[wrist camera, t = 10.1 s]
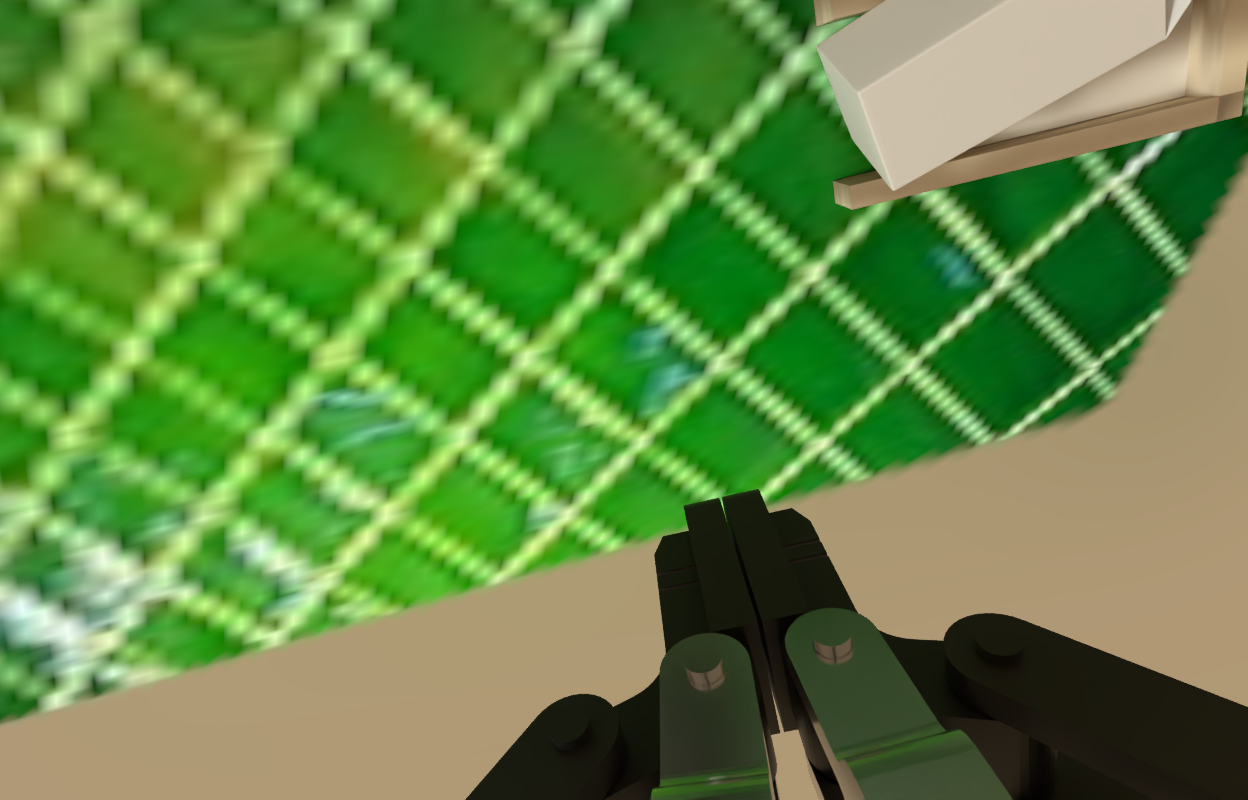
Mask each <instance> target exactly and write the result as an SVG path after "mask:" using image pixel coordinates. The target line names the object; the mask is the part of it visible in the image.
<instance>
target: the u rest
mask: <svg viewBox="0 0 1248 800" xmlns="http://www.w3.org/2000/svg"><path fill="white" fill-rule="evenodd" d="M884 1H885V0H814V7H815V17H816V26H821V25H825V24H828V23H832V22H836V21H840V20H844V19H848V18H852V17H855V16H859V15H863V14H866V13H867V12H869V11H870V10H872V9H873V8H875V7H876V6H878V5H879V4H881V3H882V2H884ZM1247 64H1248V0H1192V1H1191V2H1190V4H1189V5H1188V7H1187V8H1186V10H1185V11H1184V13H1183V14H1182V16H1181V17H1180V19H1179V20H1178V22H1177V23H1176V25H1175V26H1174V28H1173V29H1172V31H1171V33H1170V34H1169V36H1168V37H1167V38H1166V40H1163V41H1161V42H1159V43H1158V44H1156V45H1154V46H1152V47H1150V48H1149V49H1147V50H1145V51H1143V52H1142V53H1140V54H1138V55H1136V56H1134V57H1133V58H1131V59H1129V60H1127V61H1125V62H1124V63H1122V64H1120V65H1118V66H1117V67H1115V68H1113V69H1111V70H1109V71H1108V72H1106V73H1104V74H1102V75H1100V76H1099V77H1097V78H1095V79H1093V80H1092V81H1090V82H1088V83H1086V84H1084V85H1083V86H1081V87H1079V88H1077V89H1075V90H1074V91H1072V92H1070V93H1068V94H1067V95H1065V96H1063V97H1061V98H1059V99H1058V100H1056V101H1054V102H1052V103H1051V104H1049V105H1047V106H1045V107H1043V108H1042V109H1040V110H1038V111H1036V112H1034V113H1033V114H1031V115H1029V116H1027V117H1026V118H1024V119H1022V120H1020V121H1018V122H1017V123H1015V124H1013V125H1011V126H1009V127H1008V128H1006V129H1004V130H1002V131H1001V132H999V133H997V134H995V135H993V136H992V137H990V138H988V139H986V140H984V141H983V142H981V143H979V144H977V145H976V146H974V147H972V148H970V149H968V150H967V151H965V152H963V153H961V154H959V155H958V156H956V157H954V158H952V159H951V160H949V161H947V162H945V163H943V164H942V165H940V166H938V167H936V168H934V169H933V170H931V171H929V172H927V173H926V174H924V175H922V176H920V177H918V178H917V179H915V180H913V181H911V182H909V183H908V184H906V185H904V186H902V187H901V188H899V189H897V190H895V191H892V190H891V188H890V187H889V186H888V185H887V183H886V182H885V181H884V180H883V178H882V177H881V176H880V174H879V173H878V172H877V171H872V172H868V173H864V174H860V175H856V176H851V177H847V178H843V179H839V180H835V181H833V186H834V196H835V203H837V204H839V205H842V206H845V207H847V208H850V209H852V210H853V209H857V208H861V207H865V206H869V205H873V204H878V203H882V202H886V201H890V200H894V199H898V198H902V197H907V196H911V195H915V194H919V193H923V192H927V191H931V190H936V189H940V188H944V187H948V186H952V185H956V184H961V183H965V182H969V181H973V180H977V179H981V178H985V177H990V176H994V175H998V174H1002V173H1006V172H1010V171H1014V170H1019V169H1023V168H1027V167H1031V166H1035V165H1039V164H1043V163H1048V162H1052V161H1056V160H1060V159H1064V158H1068V157H1072V156H1077V155H1081V154H1085V153H1089V152H1093V151H1097V150H1102V149H1106V148H1110V147H1114V146H1118V145H1122V144H1126V143H1131V142H1135V141H1139V140H1143V139H1147V138H1151V137H1155V136H1160V135H1164V134H1168V133H1172V132H1176V131H1180V130H1184V129H1189V128H1193V127H1197V126H1201V125H1205V124H1209V123H1214V122H1218V121H1222V120H1226V119H1230V118H1234V117H1238V116H1241V113H1242V105H1243V97H1244V88H1245V80H1246V72H1247Z"/></svg>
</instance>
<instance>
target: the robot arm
mask: <svg viewBox="0 0 1248 800" xmlns="http://www.w3.org/2000/svg"><path fill="white" fill-rule="evenodd" d="M722 500H723V506H724V511H725V515H726V518H725V515H724V511H723V508H722V505H721V502H720V499H719V498H716V499H711V500H707V501H702V502H698V503H693V504H689V505H684V510H685V515H686V520H687V525H688V529H689V531H686V532H681V533H676V534H672V535H667V536H663V537H662V540H661V542H660V544H659V546H658V548H657V550H656V552H655V555H654V556H655V564H656V573H657V581H658V589H659V597H660V606H661V614H662V622H663V631H664V639H665V648H666V655H665V657H664V658H663V660H662V663H661V666H660V674H659V675H658V676H657V678H656V679H655V680H654V681H653V683H651V684H650V685H649V686H648V687H647V688H646V689H645V690H644V691H642V692H641V693H639V694H637V695H635V696H634V697H632V698H630V699H628V700H626V701H624V702H622V703H620V704H618V705H616V706H614V707H613V706H612V705H611V704H610V703H609V702H607V700H605V699H603V698H601V697H599V696H596V695H590V694H577V695H571V696H568V697H565V698H563V699H560V700H558V701H556V702H554V703H553V704H551V705H550V706H548V707H547V708H546V709H544V710H543V711H542V712H541V713H540V714H539V715H538V716H537V717H536V719H535V720H534V721H533V722H532V723H531V724H530V726H529V727H528V728H527V729H526V730H525V731H524V732H523V734H522V735H521V736H520V737H519V738H518V740H517V741H516V742H515V743H514V744H513V745H512V746H511V748H510V749H509V750H508V751H507V752H506V753H505V754H504V756H503V757H502V758H501V759H500V760H499V761H498V763H497V764H496V765H495V766H494V767H493V768H492V770H491V771H490V772H489V773H488V774H487V775H486V776H485V778H484V779H483V780H482V781H481V782H480V783H479V785H478V786H477V787H476V788H475V789H474V790H473V791H472V793H471V794H470V795H469V796H468V797H467V798H466V800H780V798H779V793H778V787H777V782H776V778H775V776H776V771H777V763H776V758H775V752H774V747H773V743H772V738H771V735H773V734H777V733H780V730H779V725H778V720H777V715H776V710H775V705H774V700H773V696H774V699H775V702H776V706H777V709H778V713H779V716H780V719H781V723H782V726H783V730H784V732H786V731H792V730H797V729H798V730H799V733H800V736H801V740H802V743H803V746H804V749H805V754H806V759H807V764H808V770H809V774H810V777H811V780H812V782H813V785H814V788H815V790H816V792H817V795H818V797H819V800H1248V707H1246V706H1244V705H1241V704H1238V703H1236V702H1233V701H1231V700H1228V699H1225V698H1223V697H1220V696H1218V695H1215V694H1213V693H1210V692H1207V691H1205V690H1202V689H1199V688H1197V687H1195V686H1192V685H1189V684H1187V683H1184V682H1181V681H1179V680H1176V679H1174V678H1171V677H1169V676H1166V675H1163V674H1161V673H1158V672H1156V671H1153V670H1151V669H1148V668H1145V667H1143V666H1140V665H1138V664H1135V663H1132V662H1130V661H1127V660H1125V659H1122V658H1120V657H1117V656H1114V655H1112V654H1109V653H1107V652H1104V651H1102V650H1099V649H1096V648H1093V647H1091V646H1089V645H1086V644H1083V643H1081V642H1078V641H1075V640H1073V639H1071V638H1068V637H1065V636H1063V635H1060V634H1058V633H1055V632H1052V631H1050V630H1047V629H1045V628H1042V627H1040V626H1037V625H1034V624H1032V623H1029V622H1027V621H1024V620H1021V619H1018V618H1015V617H1012V616H1008V615H1003V614H994V613H984V614H975V615H971V616H967V617H965V618H962V619H960V620H958V621H957V622H955V623H954V624H953V625H951V627H949V629H948V630H947V632H946V634H945V637H944V641H937V640H917V639H906V638H900V637H895V636H892V635H889V634H886V633H884V632H882V631H879V630H878V629H877V628H876V627H875V626H874V624H873V623H872V622H871V621H870V620H868V619H867V618H865V617H864V616H862V615H861V614H858V612H857V611H856V609H855V607H854V605H853V603H852V601H851V599H850V597H849V595H848V593H847V591H846V589H845V587H844V585H843V584H842V582H841V580H840V578H839V576H838V574H837V572H836V570H835V568H834V566H833V564H832V562H831V560H830V558H829V557H828V556H827V553H826V550H825V549H824V547H823V545H822V543H821V542H820V540H819V537H818V535H817V533H816V531H815V529H814V527H813V525H812V523H811V521H809V520H808V519H807V518H805V517H804V516H802V515H801V514H799V513H798V512H797V511H795V510H794V509H792V508H790V509H786V510H781V511H777V512H772V513H769V512H768V510H767V508H766V505H765V503H764V500H763V498H762V496H761V493H760V491H759V489H756V490H752V491H747V492H743V493H738V494H733V495H729V496H724V497H722ZM726 520H727V521H726ZM771 689H772V690H771ZM772 692H773V695H772Z"/></svg>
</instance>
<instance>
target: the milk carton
mask: <svg viewBox="0 0 1248 800" xmlns="http://www.w3.org/2000/svg"><path fill="white" fill-rule="evenodd" d="M1191 1H1192V0H885V1H884V2H882V3H881V4H879V5H878V6H876V7H875V8H873V9H872V10H870V11H869V12H867V13H866V14H864V15H862V16H861V17H859V18H858V19H856V20H855V21H853V22H852V23H850V24H849V25H847V26H846V27H844V28H843V29H841V30H840V31H838V32H837V33H835V34H834V35H832V36H830V37H829V38H827V39H826V40H824V41H823V42H821V43H820V44H818V45H817V46H816V47H817V50H818V53H819V55H820V58H821V61H822V64H823V66H824V69H825V72H826V74H827V77H828V79H829V82H830V85H831V87H832V90H833V92H834V95H835V98H836V100H837V103H838V105H839V108H840V110H841V113H842V115H843V118H844V120H845V123H846V125H847V127H848V130H849V132H850V135H851V137H852V139H853V141H854V142H855V144H856V145H857V146H858V148H859V149H860V150H861V151H862V153H863V154H864V155H865V156H866V158H867V159H868V160H869V162H870V163H871V164H872V165H873V167H874V168H875V169H876V171H877V172H878V173H879V174H880V176H881V177H882V178H883V180H884V181H885V182H886V183H887V185H888V186H889V187H890V188H891V190H892V191H895V190H897V189H899V188H901V187H902V186H904V185H906V184H908V183H909V182H911V181H913V180H915V179H917V178H918V177H920V176H922V175H924V174H926V173H927V172H929V171H931V170H933V169H934V168H936V167H938V166H940V165H942V164H943V163H945V162H947V161H949V160H951V159H952V158H954V157H956V156H958V155H959V154H961V153H963V152H965V151H967V150H968V149H970V148H972V147H974V146H976V145H977V144H979V143H981V142H983V141H984V140H986V139H988V138H990V137H992V136H993V135H995V134H997V133H999V132H1001V131H1002V130H1004V129H1006V128H1008V127H1009V126H1011V125H1013V124H1015V123H1017V122H1018V121H1020V120H1022V119H1024V118H1026V117H1027V116H1029V115H1031V114H1033V113H1034V112H1036V111H1038V110H1040V109H1042V108H1043V107H1045V106H1047V105H1049V104H1051V103H1052V102H1054V101H1056V100H1058V99H1059V98H1061V97H1063V96H1065V95H1067V94H1068V93H1070V92H1072V91H1074V90H1075V89H1077V88H1079V87H1081V86H1083V85H1084V84H1086V83H1088V82H1090V81H1092V80H1093V79H1095V78H1097V77H1099V76H1100V75H1102V74H1104V73H1106V72H1108V71H1109V70H1111V69H1113V68H1115V67H1117V66H1118V65H1120V64H1122V63H1124V62H1125V61H1127V60H1129V59H1131V58H1133V57H1134V56H1136V55H1138V54H1140V53H1142V52H1143V51H1145V50H1147V49H1149V48H1150V47H1152V46H1154V45H1156V44H1158V43H1159V42H1161V41H1163V40H1166V38H1167V37H1168V36H1169V34H1170V33H1171V31H1172V29H1173V28H1174V26H1175V25H1176V23H1177V22H1178V20H1179V19H1180V17H1181V16H1182V14H1183V13H1184V11H1185V10H1186V8H1187V7H1188V5H1189V4H1190V2H1191Z"/></svg>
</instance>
